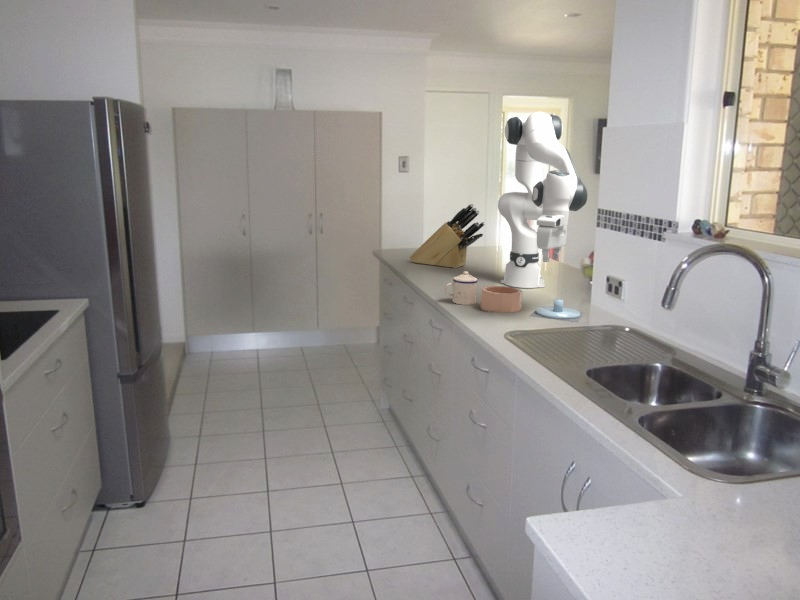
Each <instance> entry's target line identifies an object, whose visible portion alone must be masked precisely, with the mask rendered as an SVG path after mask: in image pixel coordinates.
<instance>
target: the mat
mask: <svg viewBox="0 0 800 600" xmlns="http://www.w3.org/2000/svg"><path fill="white" fill-rule="evenodd" d="M579 312H580V317H579V318H576V319H555V320H556V321H565V322H571V323H578V322H579V320H580V319H581V318H582V317H583V315H584V314H585V311H579ZM529 317H533V318H541V319H548V320H554V319H553V318H547V317H543V316H540V315H538V314H536V309H535V310H534V311H532V313H531V314H530V315H529Z"/></svg>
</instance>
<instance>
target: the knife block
mask: <svg viewBox="0 0 800 600" xmlns="http://www.w3.org/2000/svg"><path fill="white" fill-rule="evenodd" d="M478 215H480V210H477V208H476V207H474V204H473V203H469V204H468V206H467V207H464V208H461V210H459V211H458V212H457V213H456V214H455V215H454V216H453V218H452V219H451V220H450V221H449V220H448V221H447V222H444V223H443V224H442V225H441V226H440V227H439V228H438V229H437V230H436V231H435V232H433V234H431V236H430V237H429V238H427V240H425V241H424V243H422V244H421V245H420V246H419V247H418V248H417V249H416V251H414V252H413V253H412V254H411V255H410V256H409V258H410V260H411V261H412V262H413V263H415V264H421V265H422V264H423V265H432V266H439V267H447V268H448V267H449V268H453V269H457V268H460V267H464V266H465V265H467V264H466V263H467V261H466V260H467V250H468V247H469V246H471V245H472V244H474V243H475V242H476V241H478V240H479V239H481V238H482V237H483V236H484V233H478V234H476V233H477V232H479V230H481V229H482V228H483V227H484V226H485V225H486V223H485V222H484V221H482V222H480V224H479V222H474V223H472V224H471V225H470V226H468V225H469V224H470V223H471V222H472V221H474V220H475V218H477V217H478ZM467 226H468V227H467ZM465 227H467V229H465V230H463V229H464V228H465Z"/></svg>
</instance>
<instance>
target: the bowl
mask: <svg viewBox="0 0 800 600" xmlns="http://www.w3.org/2000/svg"><path fill="white" fill-rule="evenodd" d="M523 292H524V291H523V290H522V289H520V288H519V287H513V286H508V285H506V286H505V285H489V286H488V285H487V286H483V287H482V288H481V291H480V306H479V308H480V307H481V308H482V309H481V308H480V309H481V310H482V311H484V310H485V312H496V313H516V312H519V311H520V310H522V307H523V306H522V305H523V304H522V302H523Z"/></svg>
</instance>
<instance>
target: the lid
mask: <svg viewBox="0 0 800 600" xmlns="http://www.w3.org/2000/svg"><path fill="white" fill-rule="evenodd" d="M535 310H536V314H538V315H540V316H543V317H547V318H546V319H548V318H553V319H552V320H556V319H576V318H579V317H580V312H581V311H579V310H576V309H573V308H570V307H564V299H561V298H554V299H553V305H546V306H539V307H536V308H535Z"/></svg>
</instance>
